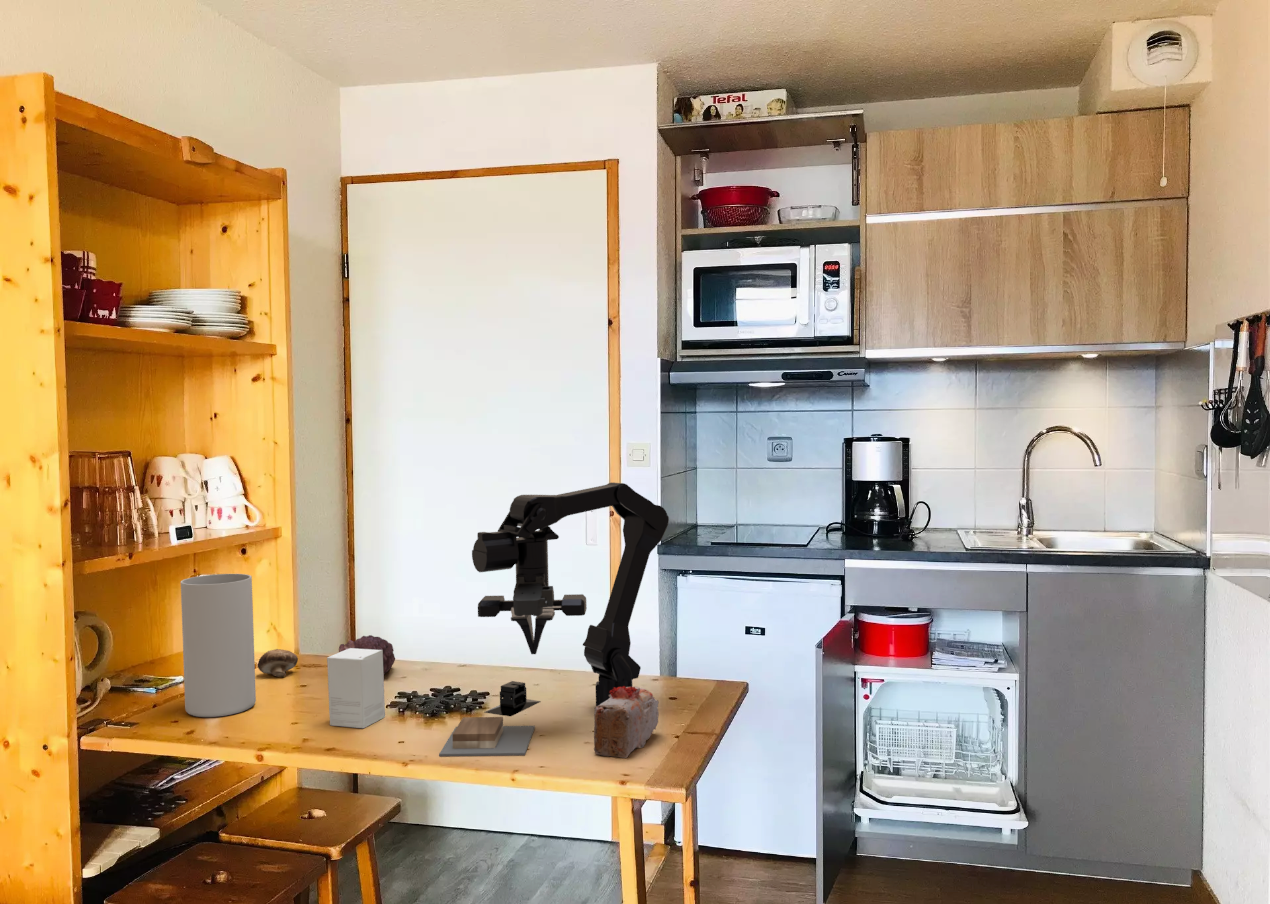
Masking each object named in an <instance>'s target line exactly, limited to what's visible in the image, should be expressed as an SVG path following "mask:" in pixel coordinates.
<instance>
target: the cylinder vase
mask: <svg viewBox="0 0 1270 904" xmlns="http://www.w3.org/2000/svg"><path fill="white" fill-rule="evenodd" d="M252 577H253V576H252V575H249V574H246V573H220V574H219V573H218V574H207V575H200V576H199V575H198V576H192V577H189V578H184V579H182V580H181V581H180V604H181V626H182V627H181V628H182V629H181V630H182V653H183V681H184V684H183V686H184V710H185V712H186V713H187V714H189V715H190V716H192V717H197V718H198V717H199V718H218V717H226V716H227V717H228V716H231V715H236V714H239V713H243V712H244V711H247V710H249V709H251V708H252V707H253V706H254V705H255V704H256V701H257V699H256V698H257V696H256V695H257V694H256V692H257V689H256V665H255V663H256V661H255V639H254V638H255V636H254V634H255V633H254V610H253V609H254V606H253V582H252V581H253V578H252Z"/></svg>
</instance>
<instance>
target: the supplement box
mask: <svg viewBox="0 0 1270 904" xmlns="http://www.w3.org/2000/svg"><path fill="white" fill-rule="evenodd" d="M326 663H327V681H328V682H327V685H328V687H327V688H328V690H327V691H328V710H329V711H328V712H329V714H328V715H329V726H334V727H343V728H344V727H345V728H353V729H354V728H355V729H365V728H367V727H369V726H371V725H373V724H374V723H377V722H378V721H380V720H383V719H384V718H385V717H386V708H385V705H386V704H385V702H386V701H385V676H384V675H385V674H383V650H372V649H356V648H349V649H346V650H344V651H341V652H339V651H338V652H337V653H335V654H332V655H330V656H328V657H326Z"/></svg>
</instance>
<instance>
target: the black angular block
mask: <svg viewBox="0 0 1270 904" xmlns="http://www.w3.org/2000/svg"><path fill="white" fill-rule="evenodd" d="M541 702H542V701H541V700H534V699H528V698H527V687H526V682H523V681H513V680H511V681H510V682H507V683H504V684H503V685H501V686H500V691H499V705H496V706H494V707H492V708H490V709H488V710H485V711H484V712H483V713H485V714H491V715H499V716H505V717H512V716H513V717H514V716H515V715H517V714H519V713H521V712H523V711H525V710H527V709H529V708H532V707H533V706H535V705H537V704H539V703H541Z"/></svg>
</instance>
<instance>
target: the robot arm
mask: <svg viewBox="0 0 1270 904" xmlns="http://www.w3.org/2000/svg"><path fill="white" fill-rule="evenodd" d="M609 507H612V508H613V510H614V512H615V513H616V514H617V515H618V516H619V517H620V518H622V519H623V520H624V521H623V527H622V532H623V540H624V548H623V549H624V550H623V552H622V555H621V559H620V561H619V566H618V569H617V572H616V575H615V579H614V582H613V584H612V585H613V586H612V590H611V592H610V595H609V599H608V602H607V605H606V608H605V611H604V615H603V618H602V619H601V621H600V622H599V623H598V624H597V625H593V624H590V625H589V626H588V629H587V634H586V638H585V640H584V641H583V643H582V647H584V649H583V656H584V657H585V661H586V662H587V663H588V664H589V665H590V667H591V670H592V672H593V673H595V674H598V681H596V682H595V707H597V706H598V705H600V704H602V703H603V702H605V701H606V700H608V699H609V698H610V697H609V695H610V691H611V690H613V689H614V687H615V688H618V687H623V686H625V687H634V686H633V684H634V683H633V680H636V679H638V678H639V676H640V672H641V666H640V665H639V664H638V662H636V661H635V659H633V658H632V657H631V656H630V650H631V644H632V643H631V637H630V631H629V624H630V621H631V618H632V614H633V611H634V608H635V605H636V601H637V597H638V595H639V591H640V588H641V584H642V581H643V577H644V575H645V571H646V568H647V565H648V561H649V558H650V557H649V556H650V555H651V553H652V552H653V550H654V549H655V548H656V547H657V545H659V544H660V542H662V539H663V537H664V536H665V533H666V531H667V528H668V527H669V521H670V517H669V515H668V513H667V511H666V509H665V508H664V507H663V506H661V505H659V504H655V503H654V502H652V501H651V500H649V499H648V498H646V497H645V496H642V495H641V494H639V493H638V492H636V491H635V490H634V488H631V487H630V486H629V485H628V484H627V483H623V482H608V483H607V484H602V485H599V486H594V487H589V488H585V489H583V488H582V489H580V490H574V491H570V492H569V491H568V492H564V493H559V494H521V495H517V496H516V497H514V498H513V500H512V502H511V504H510V507H509V512H508V513H507V515H506V516H505V518H504V520H503V521H502V523H501V525H500V526H499V527H498V530H497V531H489V532H488V531H487V532H486V531H479V532H477V539H476V541H475V542H474V544H473V549H472V550H471V559H472V563H473V566H474V568H475V570H476V571H477V572H478V573H486V572H495V571H504V570H511V569H512V568H514V566H515V586H514V589H513V596H512V600H511V599H509V600H505V595H484V597H482V599H481V600H480V601H479V602H478V603H477V617H478V618H489V617H490V618H495V617H496V616H498V614H500V612H510V614H511V617H510V620H511V622H516V623H517V625H519V628H520V629H521V630H522V633H523V635H524V637H525V640H526V643H527V646H528V648H529V649H528V650H529V652H530V654H531V655H537V652H538V648H539V646H540V641H541V638H542V635H543V632H544V629H545V626H546V623H547V622H549V621H552V620H553V619H554V618H555V615H556V614H555V613H556V612H555V611H561V612H562V613H563V614H564V615H565V616H567V617H569V616H571V617H572V616H574V617H575V616H577V617H579V616H581V617H582V616H585V615H586V612H587V597H586V596H585V595H584V594H583V593H581V594H564V595H563V598H562V599H555V592H554V591H555V590H554V585H549V583H550V582H549V550H548V549H549V548H548V547H549V546H548V544H549V541H553V540H558V539H559V538H560V536H559V534H557V533H556V532H555V531H553V529H552V528H551V526H552V525H554V524H556V523H558V522H560V520H562V519H563V518H566V517H568V516H572V515H573V516H574V515H576V514H581V513H585V512H590V511H595V510H599V509H603V508H609ZM532 616H533V617H535V618H534V619H535V621H534V624H535V625H534V626H535V627H534V629H533V620H532Z"/></svg>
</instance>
